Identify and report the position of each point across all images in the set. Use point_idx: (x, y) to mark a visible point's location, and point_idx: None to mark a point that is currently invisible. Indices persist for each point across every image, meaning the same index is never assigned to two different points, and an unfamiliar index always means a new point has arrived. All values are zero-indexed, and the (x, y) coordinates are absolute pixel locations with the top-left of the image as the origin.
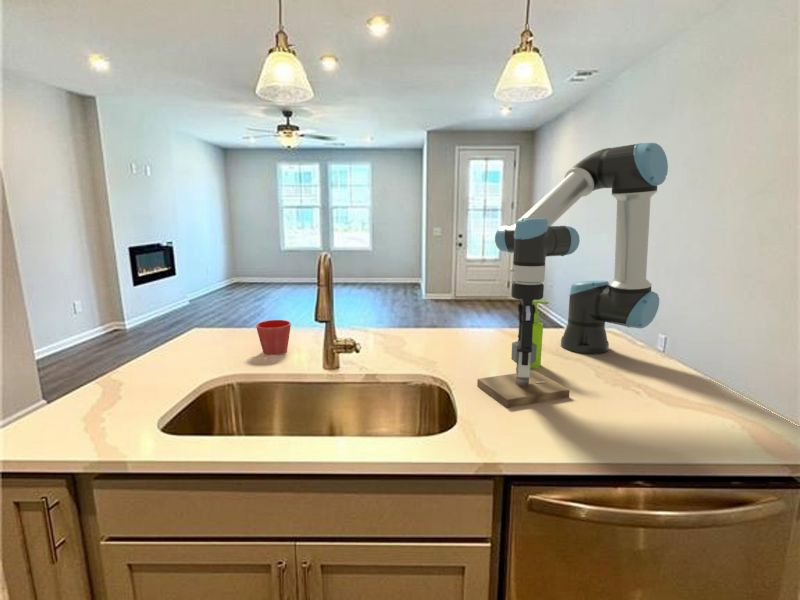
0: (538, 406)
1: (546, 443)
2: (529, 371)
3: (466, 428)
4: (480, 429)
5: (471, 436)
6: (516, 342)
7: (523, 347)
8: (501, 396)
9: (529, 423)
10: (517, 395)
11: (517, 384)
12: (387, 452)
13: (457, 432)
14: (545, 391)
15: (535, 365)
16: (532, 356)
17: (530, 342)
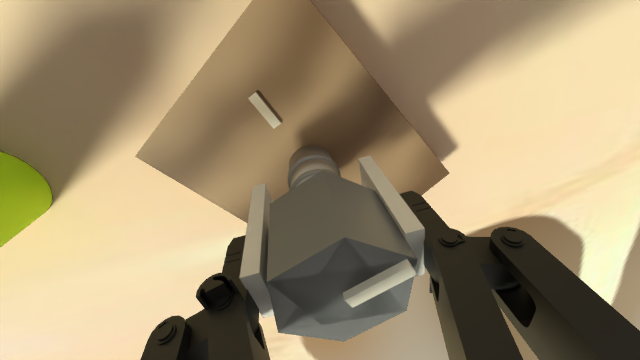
0: (407, 84)
1: (631, 25)
2: (378, 168)
3: (543, 202)
4: (548, 180)
5: (575, 185)
6: (330, 330)
7: (521, 285)
8: (423, 191)
9: (521, 89)
10: (413, 156)
11: None
12: (607, 259)
13: (558, 210)
14: (349, 76)
15: (13, 166)
16: (361, 202)
17: (581, 292)
